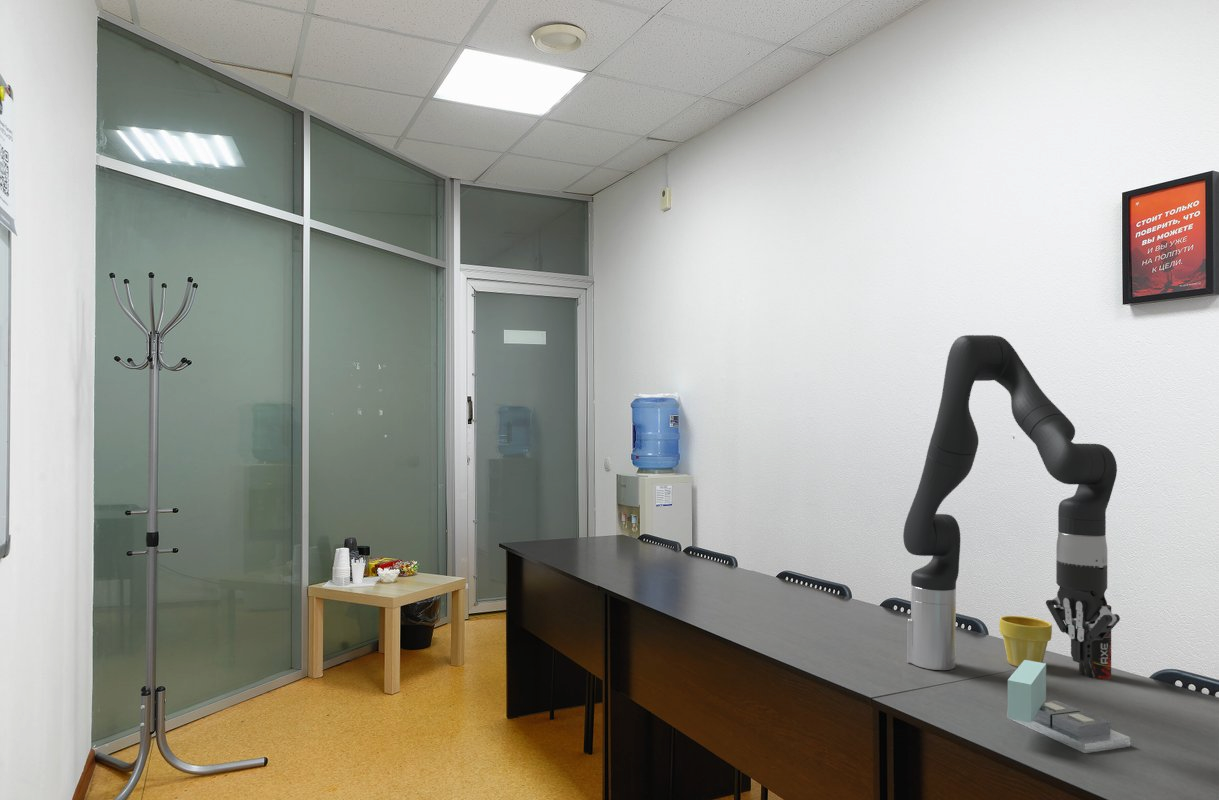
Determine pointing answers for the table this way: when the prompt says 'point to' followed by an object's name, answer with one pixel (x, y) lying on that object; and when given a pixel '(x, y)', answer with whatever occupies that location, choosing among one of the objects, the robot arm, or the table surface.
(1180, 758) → the table surface
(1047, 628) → the plant pot
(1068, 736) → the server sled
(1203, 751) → the table surface
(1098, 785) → the table surface
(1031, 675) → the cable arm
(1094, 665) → the deodorant
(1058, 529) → the robot arm
